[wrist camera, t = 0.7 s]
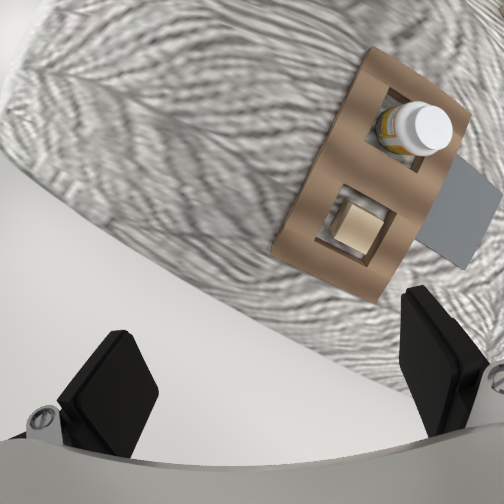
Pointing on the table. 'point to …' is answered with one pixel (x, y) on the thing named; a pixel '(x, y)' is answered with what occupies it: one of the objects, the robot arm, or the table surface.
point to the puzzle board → (368, 181)
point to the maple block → (355, 226)
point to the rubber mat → (460, 213)
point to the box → (502, 10)
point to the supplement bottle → (414, 129)
